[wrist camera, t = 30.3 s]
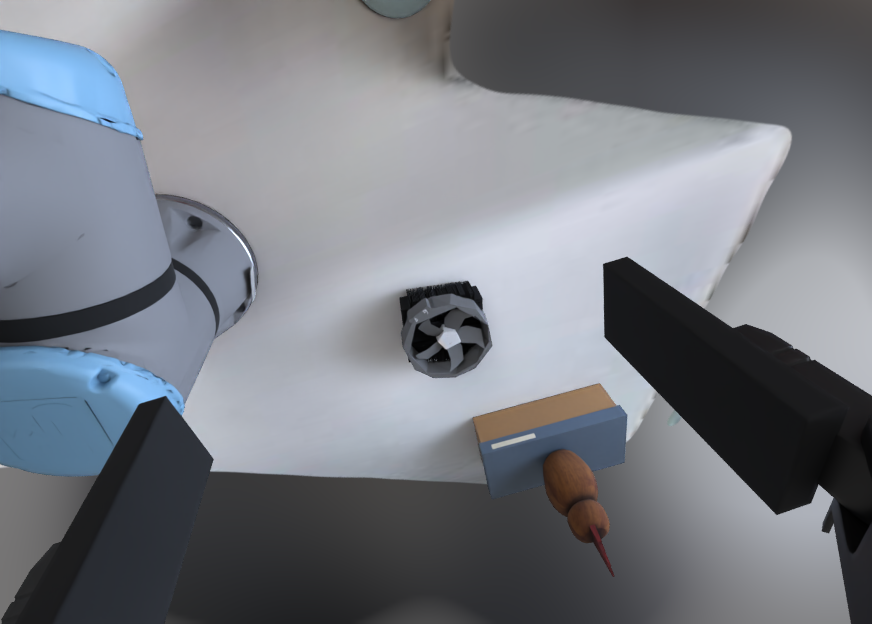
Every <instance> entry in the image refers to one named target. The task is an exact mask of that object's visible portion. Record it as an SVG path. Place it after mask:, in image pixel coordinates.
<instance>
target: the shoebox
mask: <svg viewBox="0 0 872 624" xmlns="http://www.w3.org/2000/svg"><path fill="white" fill-rule="evenodd" d="M473 423H474V427H475V432H476V437H477V441H478V446H479V451H480V455H481V460H482V463H483V466H484V471H485V475H486V480H487V485H488V489H489V492H490V495H491V499H496V498H499V497H503V496H506V495H510V494H513V493H517V492H521V491H524V490H528V489H532V488H535V487H539V486H542V485H545V483H544V477H543V464H544V462H545V460H546V458H547V457H548V456H549V455H550V454H551V453H552V452H554V451H557V450H561V449H565V450H570V451H572V452H574V453H575V454H576V455H578V456H579V457H580V458H581V459H582V460H583V461H584V462H585V463H586V464H587V465H588V466H589V468H590V469H591V471H592V472H593V471H596V470H600V469H604V468H607V467H611V466H615V465H618V464H622V463H624V461H625V444H626V428H627V414H626V413H625V411H624V410H623V409H622V407H621V406H620V405H618V406H616V404H615V403H614V402H613V400H612V399H611V398H610V396H609V395H608V394H607V392H606V391H605V390H604V388H603V387H602V385H601V384H600V383H599V384H596V385H592V386H588V387H585V388H581V389H577V390H573V391H570V392H566V393H562V394H559V395H555V396H551V397H548V398H544V399H540V400H536V401H533V402H529V403H525V404H522V405H518V406H514V407H510V408H507V409H503V410H499V411H496V412H492V413H488V414H485V415H481V416H477V417H473Z"/></svg>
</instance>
